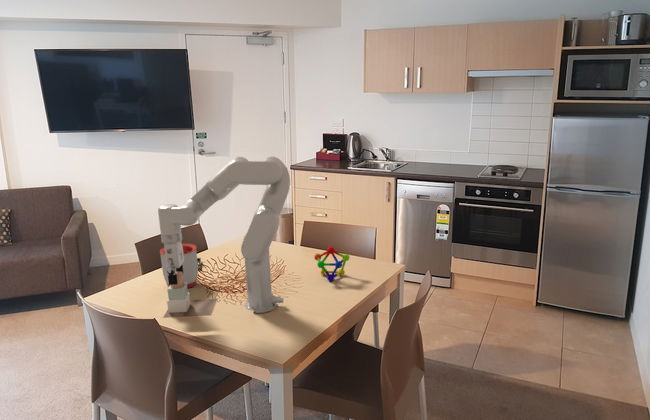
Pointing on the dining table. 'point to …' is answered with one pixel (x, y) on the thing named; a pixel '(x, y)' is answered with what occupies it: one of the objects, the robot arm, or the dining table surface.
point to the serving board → (196, 309)
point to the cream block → (178, 305)
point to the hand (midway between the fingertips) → (176, 279)
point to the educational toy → (337, 264)
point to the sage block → (177, 292)
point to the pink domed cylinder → (179, 280)
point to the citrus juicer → (184, 265)
